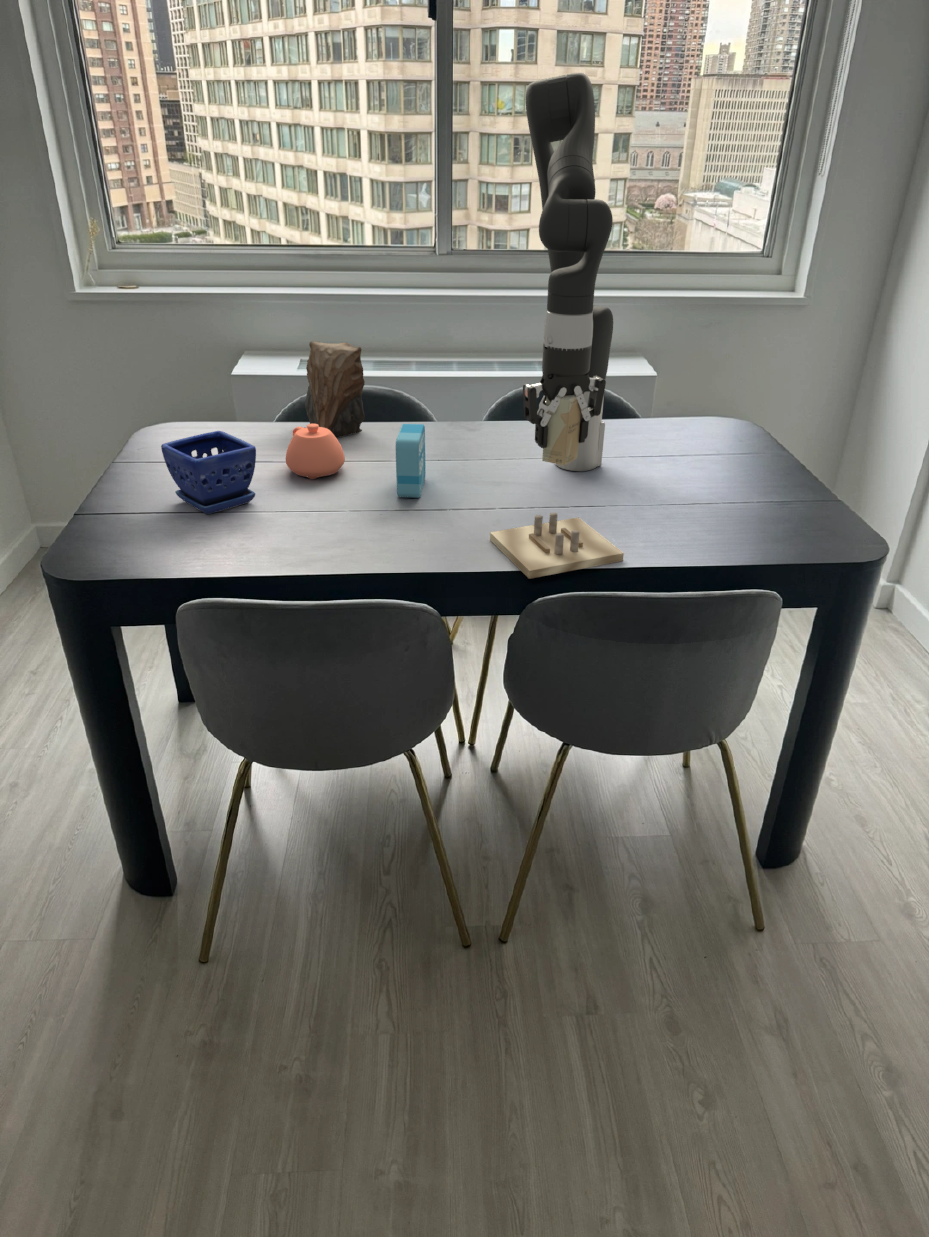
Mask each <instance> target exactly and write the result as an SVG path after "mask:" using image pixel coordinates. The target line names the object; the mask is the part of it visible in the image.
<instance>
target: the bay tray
mask: <svg viewBox="0 0 929 1237" xmlns="http://www.w3.org/2000/svg"><path fill="white" fill-rule="evenodd" d="M558 517H559V516H558V513H557V512H550V513H549V521H547V522H544V523H543V515H541V514H537V515H536V514H535V515H534V521H533V522H534V524H533V525H532V524H531V525H525V526H519V527H514V528H509V529H501V530H496V531H490V532H489V540H490V542H491V543H492V544H494V545H495V547H496V548H497V549H498V550H500V552H501V553H503V554H504V556H506V558H507V559H508V560H509V561H511V562H512V564H514V566H515V567H516V568H518V569H519V571H520V572H522V573H523V575H525V577H527V579H530V580H531V579H535V578H541V577H545V576H551V575H556V574H557V575H558V574H561V573H562V574H563V573H567V572H572V571H577V570H582V569H587V568H593V567H597V566H603V565H608V564H615V563H619V562H623V560H624V556H625V555H624V554H625V553H624V552H623V551H622V550H621V549H620V548H618V547H617V546H615V545H614V544H613V543H612V542H610V541H609V540H608V539H607V538H605V537H604V536H603V535H601V533H599V532H597V530H596V529H594V528H593V527H591V526H590V525H589V524H588V523H586V522H585V521H584V520H582V518H580V517H573V518H566V519H561V520H558Z"/></svg>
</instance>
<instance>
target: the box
mask: <svg viewBox="0 0 929 1237" xmlns="http://www.w3.org/2000/svg"><path fill="white" fill-rule="evenodd" d="M550 403H551V402H550V401H549V400H548V398H547V396H546V406H549V405H550ZM580 419H581V412H580V410H579V406H578V402H577V397H576V396H575V395H568V396H564V398H561V399H560V401H559V405H558V407H557V409H556V411H555V413H554V414H553V415H551V417H550V419H549V421H548V423H547V426H548V437H547V447H546V448H542V459H541V460H542V462H546V463H551V464H555V465H556V464H559V465H566V464H568V463H570V462H571V461H573V460H574V459H576V458H577V455H578V444H579V432H580Z"/></svg>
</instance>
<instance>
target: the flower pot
mask: <svg viewBox="0 0 929 1237" xmlns="http://www.w3.org/2000/svg"><path fill="white" fill-rule="evenodd" d="M160 447H161V452H162V456H163V460H164V462H165V464H166V465H165V466H166V467H167V470H168V472H169V474H170V476H171V478H172V480H173V482H174V483H175V485H176V486H177V487H178V488H179V489H178V490H175V494H176V496H177V497H178V498H180V500H182V501H183V502H185V503H187V504H188V505H189V506H192V507H193V508H195V509H196V510H199V511H201V512H202V513H204V514H205V515H211V514H214V513H215V514H216V513H218V512H221V511H226V510H229V509H232V508H235V507H238V506H241V505H245V504H247V503H250V502H251V501H252V500H254V498H255V496H256V492H255V491H253V490H251V489H249V487H250V485H251V482H252V480H253V477H254V473H255V468H256V461H257V460H256V459H257V448H256V446H255V445H253V444H251V443H249V442H247V441H245V440H243V439H241V438H239V437H237V436H234V435H231V434H230V433H227V432H224V431H222V430H215V431H211V432H205V433H202V434H201V433H200V434H195V435H191V436H188V437H183V438H179V439H176V440H172V441H168V442H165V443H162V444H161V446H160ZM213 449H216V450H217V454H213V453H212V450H213ZM194 451H196V455H194V456H193V452H194ZM204 454H206V456H205V457H204Z"/></svg>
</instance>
